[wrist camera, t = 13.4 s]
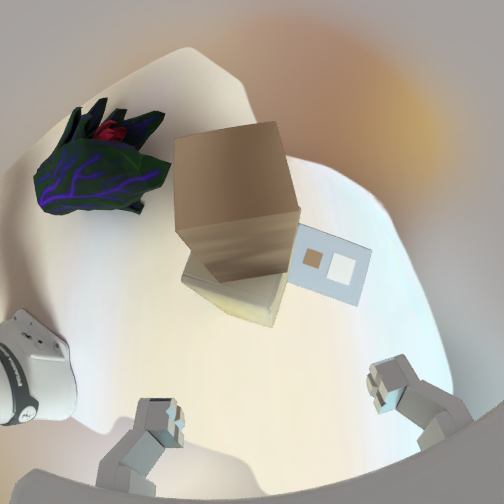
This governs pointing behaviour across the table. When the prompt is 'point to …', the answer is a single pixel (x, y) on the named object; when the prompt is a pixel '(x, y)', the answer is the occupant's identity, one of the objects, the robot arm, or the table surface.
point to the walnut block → (235, 200)
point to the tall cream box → (240, 291)
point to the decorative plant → (100, 163)
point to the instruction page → (329, 265)
